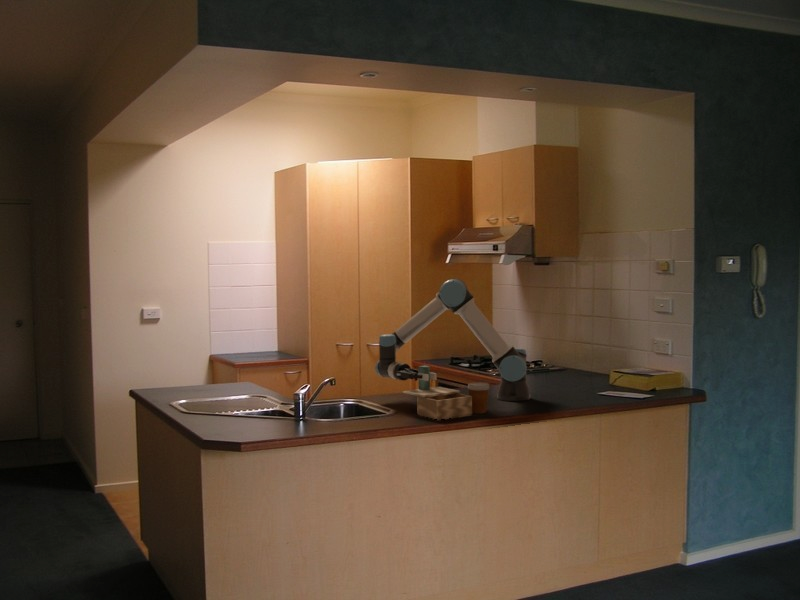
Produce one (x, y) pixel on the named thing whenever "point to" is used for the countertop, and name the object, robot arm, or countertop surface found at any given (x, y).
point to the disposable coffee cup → (478, 396)
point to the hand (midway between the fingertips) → (431, 377)
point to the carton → (445, 406)
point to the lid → (428, 386)
